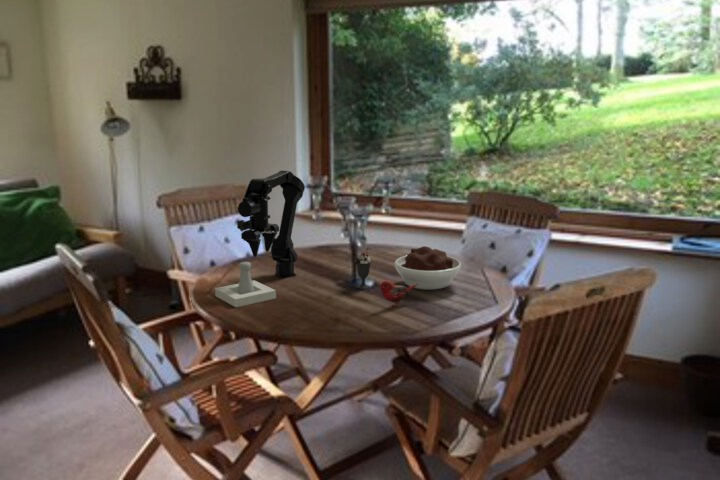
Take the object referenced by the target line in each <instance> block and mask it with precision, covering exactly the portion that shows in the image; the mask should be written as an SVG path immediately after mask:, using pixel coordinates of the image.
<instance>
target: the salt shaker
mask: <svg viewBox="0 0 720 480" xmlns="http://www.w3.org/2000/svg"><path fill="white" fill-rule="evenodd" d="M251 264H252V263H251V262H249V261H241V262H240V263H239V264H238V269H239V270H240V273H239V280H238V283H239V286H238V294H239V295H241V294H246V293H251V292H254V287H253V283H252V281H253V279H252V276H251V275H252V274H251V271H250V270H251V267H252V265H251Z"/></svg>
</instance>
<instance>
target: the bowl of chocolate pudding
mask: <svg viewBox="0 0 720 480" xmlns="http://www.w3.org/2000/svg"><path fill="white" fill-rule="evenodd" d="M394 268H395V270H396V271H397V273H398V274H399V275H400V276H401V278H402V280H403V283H404V284H405V285H406V286H407V287H410V286H413V285H415V284H418V285H416V286H415V287H414V288H413V289H417V290H428V291H429V290H431V291H432V290H441V289H444V288H446V287H448V286H450V285H451V283H452V281H453V279H454V278H455V277H456V276H457V275H458V274H459V273H460V270H461V268H462V264H461V261H460V260H459V259H457V258H454V257H451V256H448V255H447V253H446V251H443V250H440V249H436V248H434V249H432V248H431V247H429V246H425V245H424V246H421V247H418V248H411V249H410V252H409V253H408V254H407V255H404V256H401V257H398V258H397V259H396V260H395V261H394Z"/></svg>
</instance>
